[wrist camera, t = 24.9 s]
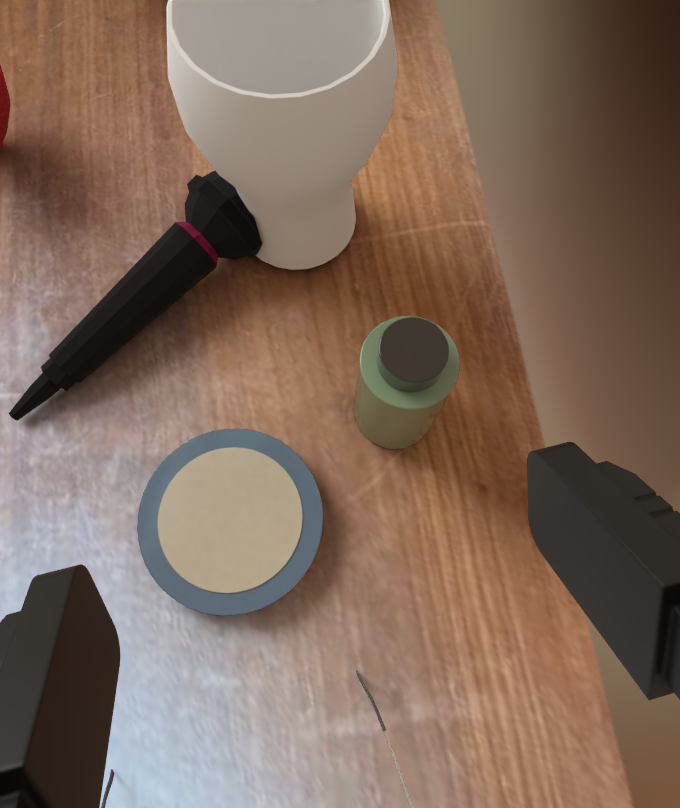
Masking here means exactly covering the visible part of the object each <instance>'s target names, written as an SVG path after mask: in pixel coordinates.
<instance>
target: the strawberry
mask: <svg viewBox="0 0 680 808" xmlns="http://www.w3.org/2000/svg"><path fill="white" fill-rule="evenodd" d="M9 113H10V97H9V93H8V90H7V86H6V82H5V79H4V75H3V72H2V69H1V66H0V150H1V149H2V146H3V140H4V138H5V136H6V132H7V128H8V120H9Z"/></svg>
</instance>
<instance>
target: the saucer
mask: <svg viewBox="0 0 680 808" xmlns="http://www.w3.org/2000/svg"><path fill="white" fill-rule="evenodd" d="M322 529H323V508H322V502H321V496H320V493H319V489H318V486H317V483H316V481H315V479H314V477H313V475H312V473H311V471H310V470H309V468H308V467H307V465H306V464H305V462H304V461H303V460H302V459H301V458H300V457H299V455H298V454H296V453H295V452H294V451H293V450H292V449H291V448H290V447H288V446H287V445H285V444H284V443H283V442H281V441H279V440H277V439H275V438H273V437H271V436H269V435H266V434H264V433H261V432H257V431H252V430H247V429H223V430H217V431H212V432H209V433H206V434H203V435H200V436H198V437H196V438H193V439H191V440H189V441H188V442H186V443H184V444H183V445H181V446H180V447H178V448H177V449H176V450H175V451H173V452H172V453H171V454H170V455H169V456H168V457H167V458H166V459H165V460H164V461H163V462H162V463H161V464H160V466H159V467H158V468H157V469H156V471H155V472H154V474H153V475H152V477H151V479H150V480H149V482H148V484H147V486H146V489H145V491H144V493H143V496H142V500H141V503H140V507H139V513H138V526H137V530H138V541H139V546H140V550H141V554H142V557H143V559H144V562H145V565H146V566H147V568H148V570H149V572H150V574H151V576H152V577H153V578H154V580H155V581H156V582H157V584H158V585H159V586H160V587H161V588H162V589H163V590H164V591H165V592H166V593H167V594H168V595H169V596H171V597H172V598H173V599H175V600H176V601H177V602H179V603H181V604H183V605H185V606H187V607H189V608H191V609H194V610H196V611H199V612H203V613H208V614H213V615H238V614H244V613H249V612H253V611H256V610H259V609H262V608H264V607H266V606H268V605H270V604H272V603H274V602H276V601H277V600H279V599H280V598H282V597H283V596H285V595H286V594H287V593H288V592H290V591H291V590H292V589H293V588H294V587H295V586H296V585H297V584H298V583H299V582H300V580H301V579H302V578H303V577H304V575H305V574H306V572H307V571H308V569H309V568H310V566H311V564H312V562H313V560H314V558H315V556H316V553H317V551H318V548H319V545H320V541H321V536H322Z"/></svg>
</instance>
